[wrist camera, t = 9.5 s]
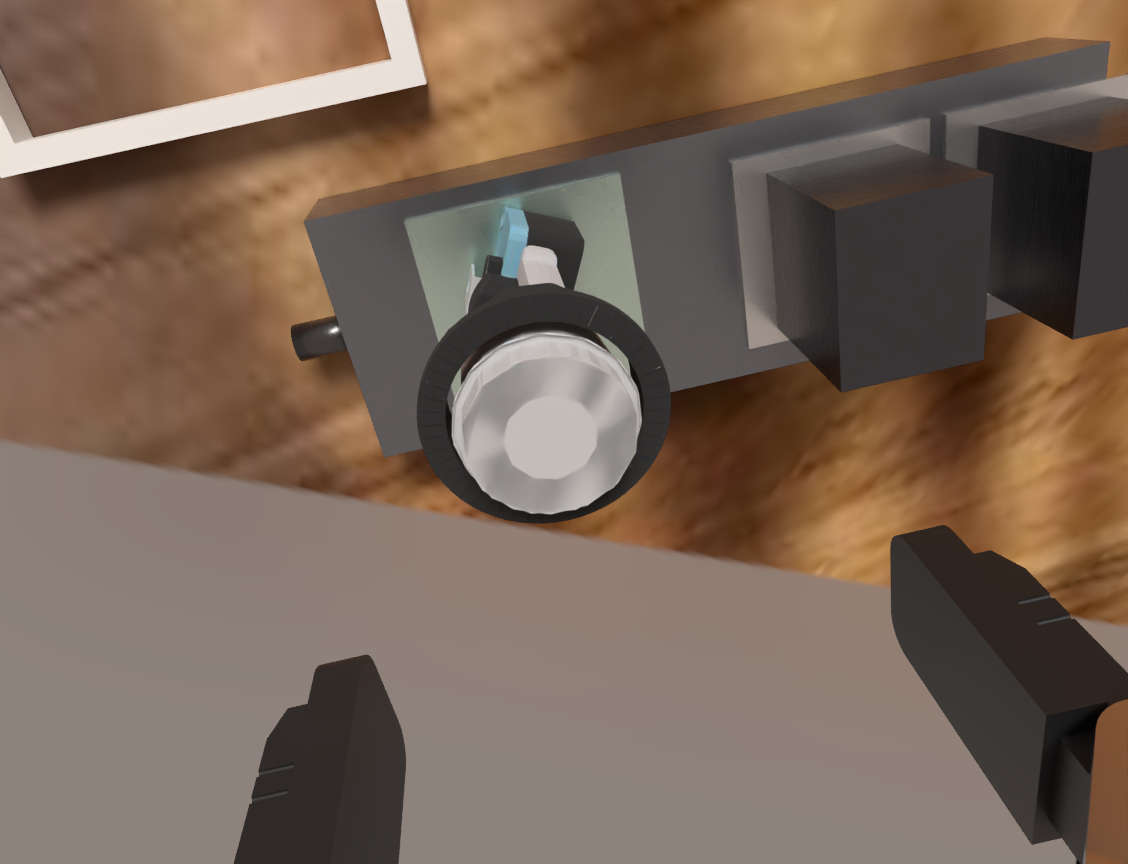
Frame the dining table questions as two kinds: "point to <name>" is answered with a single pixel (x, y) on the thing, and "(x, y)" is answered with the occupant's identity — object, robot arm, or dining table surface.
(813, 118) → the power strip
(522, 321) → the push button
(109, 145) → the empty frame
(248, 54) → the dining table surface
